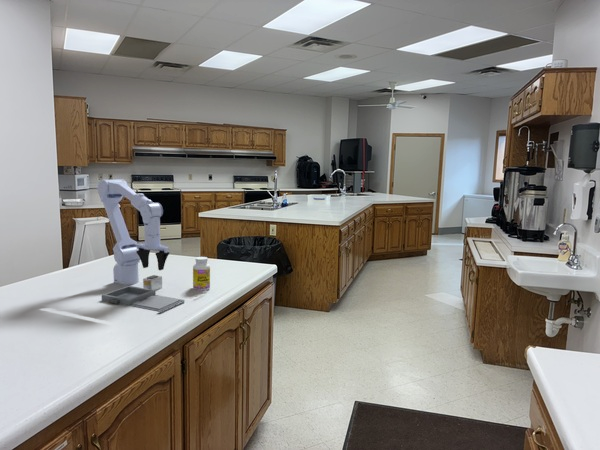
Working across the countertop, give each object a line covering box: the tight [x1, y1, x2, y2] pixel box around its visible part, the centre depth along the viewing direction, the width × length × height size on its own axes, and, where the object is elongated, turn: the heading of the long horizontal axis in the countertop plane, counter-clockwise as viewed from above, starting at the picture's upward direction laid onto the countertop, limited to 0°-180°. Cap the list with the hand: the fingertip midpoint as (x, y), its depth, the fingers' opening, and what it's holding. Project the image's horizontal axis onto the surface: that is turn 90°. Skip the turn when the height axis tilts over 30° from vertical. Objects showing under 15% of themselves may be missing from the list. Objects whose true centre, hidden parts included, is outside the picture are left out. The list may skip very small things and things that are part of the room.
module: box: [142, 274, 163, 291], centre depth 171 cm, size 4×6×5 cm, turn 156°
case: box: [101, 285, 185, 315], centre depth 157 cm, size 26×14×3 cm, turn 67°
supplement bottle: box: [192, 256, 211, 291], centre depth 175 cm, size 7×7×13 cm
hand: (153, 268), depth 171 cm, fingers open, 7 cm apart
